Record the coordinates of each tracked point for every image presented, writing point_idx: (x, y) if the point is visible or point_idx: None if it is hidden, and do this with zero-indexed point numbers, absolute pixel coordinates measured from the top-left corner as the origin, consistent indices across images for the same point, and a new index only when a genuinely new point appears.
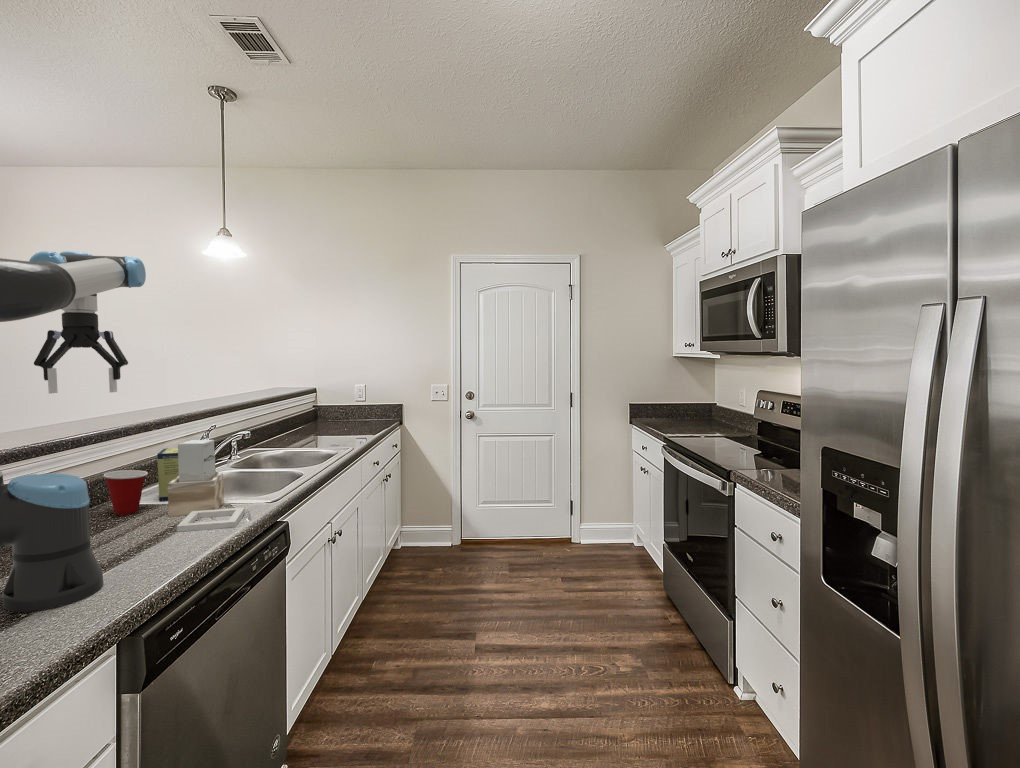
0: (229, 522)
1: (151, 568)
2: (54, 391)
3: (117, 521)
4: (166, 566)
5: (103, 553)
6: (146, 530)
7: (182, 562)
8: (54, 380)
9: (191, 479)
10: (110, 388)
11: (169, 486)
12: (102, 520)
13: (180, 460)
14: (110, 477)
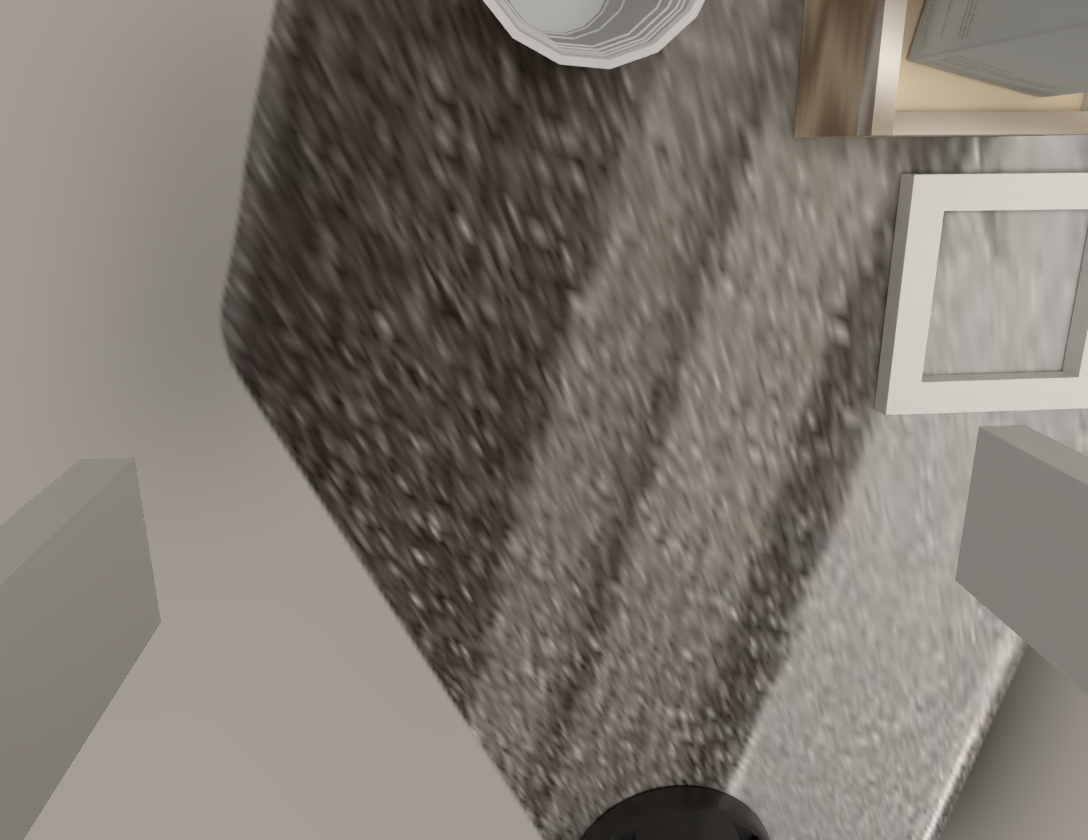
0: (1081, 407)
1: (862, 750)
2: (141, 566)
3: (574, 163)
4: (901, 743)
5: (677, 594)
6: (749, 353)
7: (940, 722)
8: (46, 662)
9: (1001, 78)
10: (1005, 610)
11: (873, 135)
12: (493, 120)
13: (1021, 45)
14: (541, 53)
